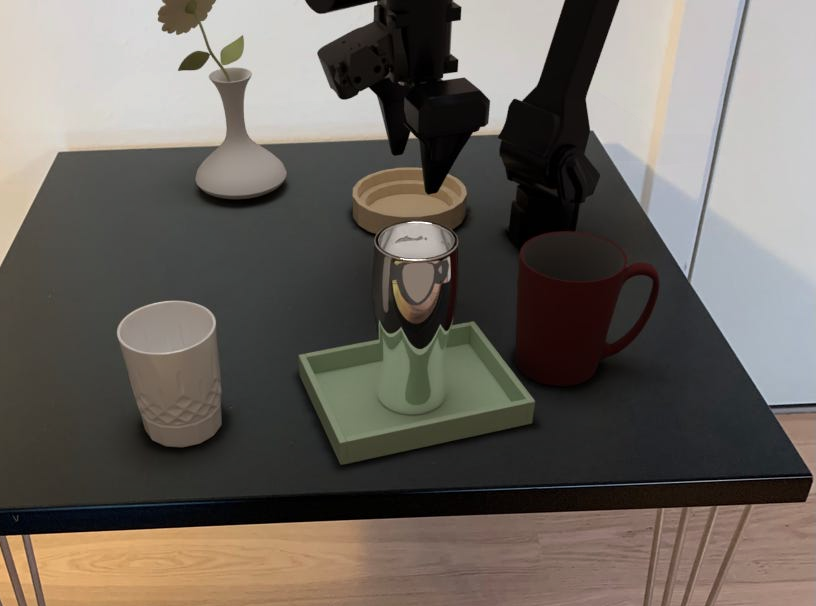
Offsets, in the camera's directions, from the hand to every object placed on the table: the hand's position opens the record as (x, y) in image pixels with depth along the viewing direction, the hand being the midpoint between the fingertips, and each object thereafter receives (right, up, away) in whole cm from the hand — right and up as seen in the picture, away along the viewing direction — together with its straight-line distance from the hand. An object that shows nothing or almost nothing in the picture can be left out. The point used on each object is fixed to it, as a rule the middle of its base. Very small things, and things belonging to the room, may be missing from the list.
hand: (413, 173), depth 85 cm
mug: (+15, -18, -1) cm, 23 cm away
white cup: (-21, -24, -6) cm, 32 cm away
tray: (-1, -22, -4) cm, 22 cm away
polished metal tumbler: (-1, -21, -5) cm, 22 cm away
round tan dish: (+1, +3, +22) cm, 22 cm away
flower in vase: (-20, +8, +29) cm, 36 cm away
